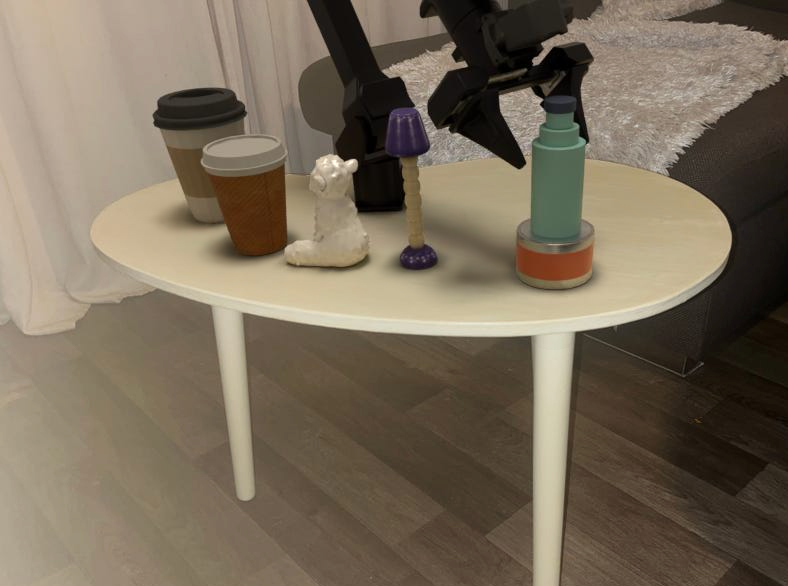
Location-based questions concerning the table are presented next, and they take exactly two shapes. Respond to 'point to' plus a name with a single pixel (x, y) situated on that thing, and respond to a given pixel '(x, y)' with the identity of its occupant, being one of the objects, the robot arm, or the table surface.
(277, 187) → the disposable coffee cup
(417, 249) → the toy lamp
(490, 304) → the table surface
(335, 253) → the white creature statuette
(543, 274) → the can
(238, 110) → the coffee cup
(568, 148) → the bottle
